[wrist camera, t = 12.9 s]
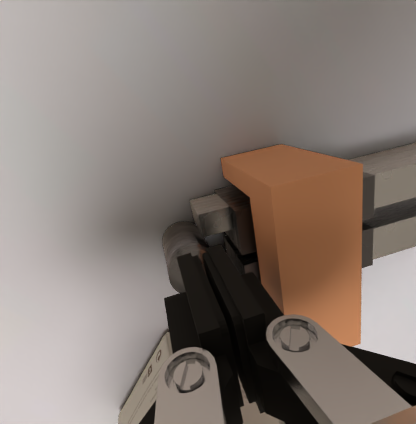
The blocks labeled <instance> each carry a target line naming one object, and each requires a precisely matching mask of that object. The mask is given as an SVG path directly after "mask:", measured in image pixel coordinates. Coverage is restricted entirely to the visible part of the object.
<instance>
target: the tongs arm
mask: <svg viewBox="0 0 416 424" xmlns="http://www.w3.org/2000/svg"><path fill="white" fill-rule="evenodd" d="M224 242H225V247H226V252H227V255H228V256H229V258H230V260H231V261H232V263H233V264H234V266H235V268H236V269H237V271H238V272H239V274H240V275H242V274H246V273H249V272H253V273H254V274H255V276H256V277H257V278H258V280H259V281H260V283H261V277H260V270H259V262H258V255H257V251H255V252H252V253H248V254H245V255H242V254H241V253H240V252H239V250H238V249H237V247H236V246H235V245H234V243H233V242H232V241H231V239H230V238H229V236H228V235H226V236H224ZM415 246H416V197H415V198H411V199H408V200H404V201H401V202H397V203H393V204H390V205H386V206H383V207H379V208H376V209H374V218H371V219H367V220H364V221H362V268H364V267H367V266H370V265H373V259H376V258H380V257H383V256H386V255H389V254H392V253H396V252H399V251H402V250H405V249H408V248H412V247H415Z"/></svg>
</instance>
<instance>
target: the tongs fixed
mask: <svg viewBox="0 0 416 424" xmlns="http://www.w3.org/2000/svg"><path fill="white" fill-rule="evenodd" d="M348 160H349V161H354V162H358V163H362V164H363V199H362V221H364V220H367V219H371V218H374V209H376V208H379V207H383V206H386V205H390V204H393V203H397V202H401V201H404V200H408V199H411V198H415V197H416V143H413V144H409V145H405V146H401V147H397V148H393V149H389V150H385V151H381V152H376V153H372V154H368V155H364V156H360V157H356V158H352V159H348ZM214 191H215V194H213V195H209V196H205V197H201V198H197V199H193V200H190V204H191V209H192V213H193V218H194V221H195V223H196V225H197V226H196V225H195V224H193V223H191V222H187V221H181V222H177V223H174V224H173V225H171V226H170V227H169V228H168V229H167V230H166V231H165V233H164V235H163V239H162V243H163V249H164V254H165V259H166V264H167V269H168V274H169V279H170V283H171V285H172V287H173V288H174V289H175V290H176V291H177V292H179V293H183V292H185V288H184V284H183V280H182V277H181V273H180V269H179V265H178V261H177V257H178V256H181V255H185V254H188V253H191V254H192V256H196V255H198V257H199V260H200V262H201V264H202V267H203V269H204V271H205V267H204V263H203V258H202V254H203V253H206V248H209V245H208V244H207V242H206V240H205V238H204V237H206V236H210V235H213V234H217V233H221V232H224V231H225V232H226V234H227V235H228V236H229V238H230V239H231V241H232V242H233V243H234V245H235V246H236V247H237V249H238V250H239V252H240V253H241V254H242V255H245V254H248V253H252V252H255V251H257V248H256V240H255V233H254V226H253V218H252V211H251V204H250V197H249V196H247V195H246V194H245V193H244V192H242V191H241V190H240V189H238V188H237V187H236V186H235V185H232V186H228V187H224V188H220V189H216V190H214ZM205 274H206V272H205Z"/></svg>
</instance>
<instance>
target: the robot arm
mask: <svg viewBox="0 0 416 424" xmlns="http://www.w3.org/2000/svg"><path fill="white" fill-rule="evenodd" d="M202 258H203V263H204V267H205V271H204V269H203V267H202V264H201V262H200V260H199V257H198V255H196V256H192V254H191V253H188V254H185V255H181V256H178V257H177V261H178V265H179V269H180V273H181V277H182V280H183V284H184V288H185V292H183V293H180V294H176V295H173V296H170V297H166V298H164V300H165V307H166V313H167V320H168V326H169V333H170V340H171V346H172V353H173V354H172V355H171V356H170V357H169V358H168V359H167V360H166V361H165V362H164V364H163V365H162V367H161V369H160V372H159V376H158V386H157V397H156V401H155V402H154V403H153V405H152V406H151V407H150V409H149V410H148V412H147V413H146V414H145V416H144V417H143V418H142V420H141V421H140V423H139V424H243V418H242V413H241V409H240V407H242V406H244V402H243V397H242V392H241V387H240V383H239V379H240V381H241V384H242V387H243V389H244V392H245V394H246V397H247V399H248V402H249V403H250V404H251V403H253V402H256V404H257V406H258V409H259V411H260V414H261V413H264V412H265V413H266V414H268V415H270V416H272V417H274V418H277V419H279V423H280V424H416V364H414V363H410V362H407V361H403V360H399V359H396V358H392V357H388V356H384V355H381V354H377V353H373V352H370V351H366V350H362V349H359V348H355V347H351V346H347V345H344V344H340V343H339V342H338V341H337V340H336V339H335V338H334V337H332V336H331V335H330V334H329V333H328V332H327V331H326V330H325V329H323V328H322V327H321V326H320V325H319V324H318V323H316V322H315V321H313V320H312V319H310V318H308V317H305V316H302V315H295V314H291V315H284V314H283V313H282V311H281V310H280V309H279V307H278V306H277V305H276V303H275V302H274V300H273V299H272V298H271V296H270V295H269V294H268V292H267V291H266V289H265V288H264V287H263V285H262V284H261V283H260V281H259V280H258V278H257V277H256V276H255V274H254V273H253V272H249V273H246V274H242V275H240V274H239V272H238V271H237V269H236V268H235V266H234V264H233V263H232V261H231V260H230V258H229V256H228V255H227V253H226V252H225V250H224V249H223V247H222V245H221V244H220V245H217V246H213V247H209V248H206V253H203V254H202ZM205 272H206V274H205ZM238 376H239V378H238Z"/></svg>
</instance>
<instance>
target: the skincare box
mask: <svg viewBox="0 0 416 424" xmlns="http://www.w3.org/2000/svg"><path fill="white" fill-rule="evenodd" d="M172 354H173V353H172V346H171V340H170V333H169V332H167V333H166V334H165V335H164V336H163V338H162V340H161V342H160V343H159V345H158V347H157V349H156V350H155V352H154V354H153V355H152V357H151V359H150V361H149V362H148V364H147V366H146V368H145V369H144V371H143V373H142V375H141V376H140V378H139V380H138V382H137V384H136V385H135V387H134V389H133V391H132V393H131V395H130V396H129V398H128V400H127V401H126V403H125V405H124V407H123V408H122V410H121V412H120V414H119V418H118V424H139V423H140V421H141V420H142V418H143V417H144V416H145V414H146V413H147V412H148V410H149V409H150V407H151V406H152V405H153V403H154V402H155V401H156V397H157V386H158V376H159V372H160V369H161V367H162V365H163V364H164V362H165V361H166V360H167V359H168V358H169V357H170V356H171V355H172ZM238 378H239V376H238ZM239 383H240V387H241V392H242V397H243V402H244V406H242V407H240V409H241V413H242V418H243V424H280V423H279V419H277V418H274V417H272V416H270V415H268V414H266V413H265V412H264V413H261V414H260V411H259V409H258V406H257V404H256V402H253V403H251V404H250V403H249V402H248V399H247V397H246V394H245V392H244V389H243V387H242V384H241V381H240V379H239Z"/></svg>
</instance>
